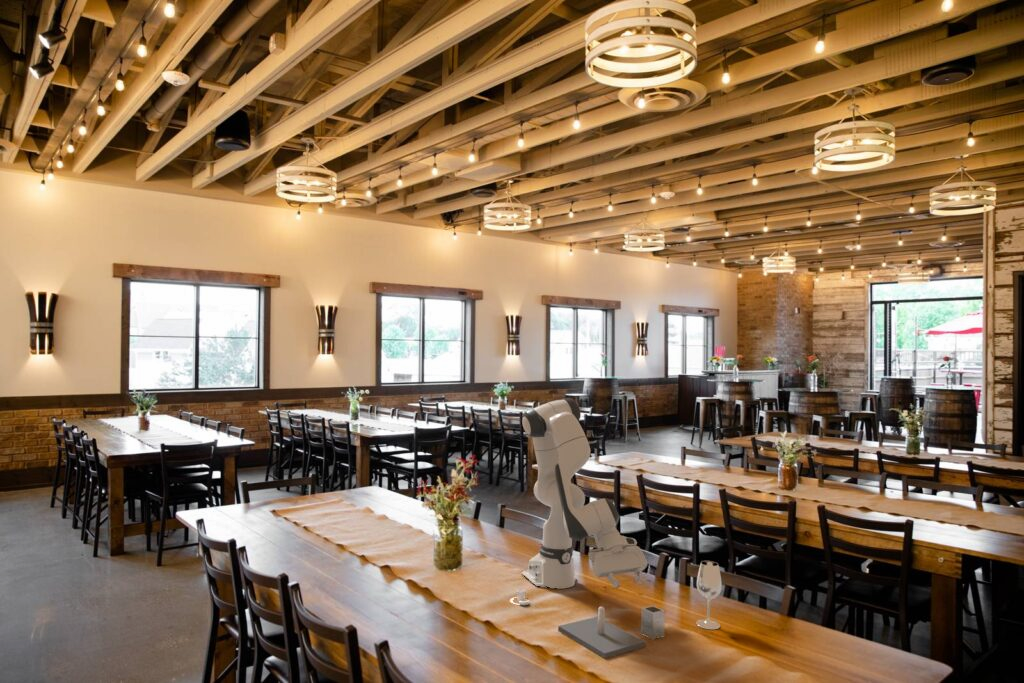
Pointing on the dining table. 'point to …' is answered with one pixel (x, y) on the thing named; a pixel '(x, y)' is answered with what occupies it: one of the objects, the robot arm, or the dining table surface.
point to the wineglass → (709, 589)
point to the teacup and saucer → (520, 598)
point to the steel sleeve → (652, 622)
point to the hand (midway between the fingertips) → (629, 585)
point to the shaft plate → (601, 636)
